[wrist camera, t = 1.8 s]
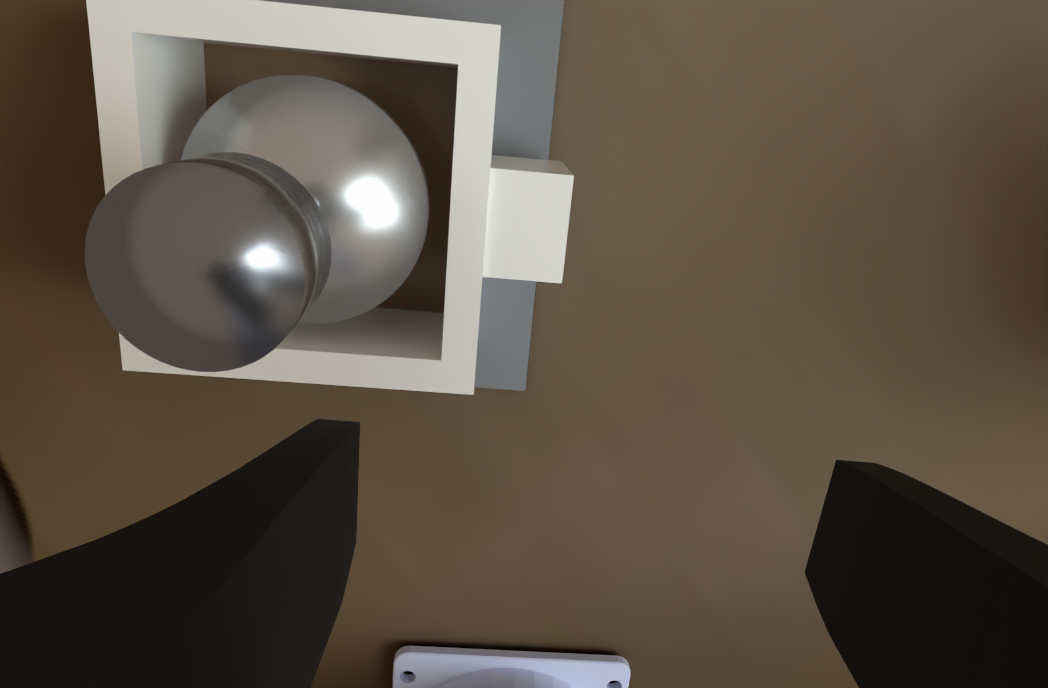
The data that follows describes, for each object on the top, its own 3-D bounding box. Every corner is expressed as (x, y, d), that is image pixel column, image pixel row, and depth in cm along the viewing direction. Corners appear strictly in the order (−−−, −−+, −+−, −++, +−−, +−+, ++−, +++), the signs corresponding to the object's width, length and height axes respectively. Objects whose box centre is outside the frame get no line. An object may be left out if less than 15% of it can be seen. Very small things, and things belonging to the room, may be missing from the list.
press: (535, 388, 22) (543, 456, 18) (144, 361, 21) (62, 425, 17) (577, -20, 18) (600, -50, 14) (107, -70, 17) (-9, -117, 13)
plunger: (424, 325, 17) (384, 456, 11) (194, 307, 17) (21, 433, 11) (435, 87, 16) (395, 87, 9) (178, 63, 15) (-37, 46, 9)
